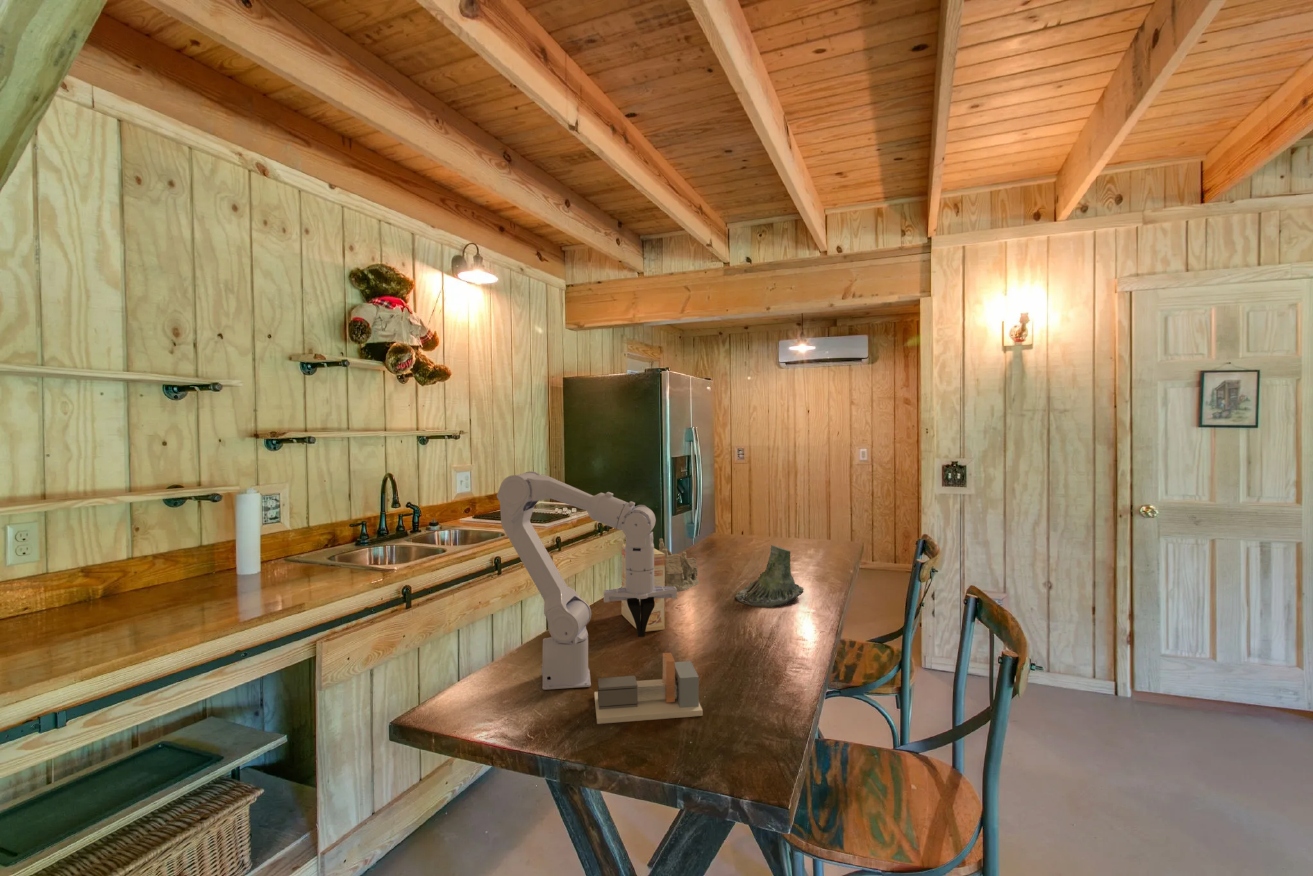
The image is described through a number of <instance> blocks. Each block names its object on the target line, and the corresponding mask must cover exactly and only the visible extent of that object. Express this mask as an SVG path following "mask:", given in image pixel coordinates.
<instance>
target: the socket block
mask: <svg viewBox="0 0 1313 876" xmlns="http://www.w3.org/2000/svg"><path fill="white" fill-rule="evenodd" d="M675 678H677V680H678V704H679V707H680V708H684V707H698V706H699V703H700V700H699V699H700V698H699V696H700V685H699V683H700V676H699V674H698V673H697V671H696V669H695V667H694V665H693V662H692V661H691V660H686V661H675Z"/></svg>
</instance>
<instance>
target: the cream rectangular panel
mask: <svg viewBox="0 0 1313 876" xmlns="http://www.w3.org/2000/svg"><path fill="white" fill-rule="evenodd" d="M637 681H638V680H637V679H636V675H625V676H610V677H597V691H593V692H594V697H593V698H594V703H595V704H594V706H595V716H596V724H597V725H603V724H612V723H627V722H639V721H640V722H641V721H653V720H665V719H675V718H677V719H678V718H690V717H691V718H693V717H702V716H704V715H703V714H704V713H703V707H702V705H701V704H700V702H699V706H698V707H684V708H680V707H679V704H678V698H675V702H667V703H666V701H665V699H661V700H647V701H637V695H638V688H636V687H638V685H637Z"/></svg>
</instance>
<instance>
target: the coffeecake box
mask: <svg viewBox="0 0 1313 876" xmlns="http://www.w3.org/2000/svg"><path fill="white" fill-rule="evenodd" d="M625 545H626V543H625V544H624V543H623V544H621V588H624V587H626V559H625ZM658 550H659V549H656V548H655V547H654V586H664V587H665V554H664V553H662V552H660V551H658ZM665 599H666V598H659V599H654V602H655V606H654V608H653V610H652V612H651V615H650V617H649V620H648V623H647V626H646V631H645V633H646V632H653V631H654V632H655V631H662V630H663V631H664V630H665ZM639 601H640V600H639ZM621 615H622V616H623V618H624V619H626V620H627V622H629V624H631V626H633V627H634V628H635V629H636V624H635V621H634V618H633V616H632V613H631V611H630V609H629V607H628V604H627V600H622V601H621ZM640 621H641V619H640Z"/></svg>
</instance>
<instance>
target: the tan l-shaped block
mask: <svg viewBox="0 0 1313 876" xmlns="http://www.w3.org/2000/svg"><path fill="white" fill-rule="evenodd" d="M675 662H676V660H675V659H674V656H673V654H672V652H663V653H662V678H660V679H646V680H645V679H644V680H636V681H637V685H638V687H636V688H638V695H637V701H647V700H661V699H665V701H666V703H667V702H675V698H678V680H677V678H675Z"/></svg>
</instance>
